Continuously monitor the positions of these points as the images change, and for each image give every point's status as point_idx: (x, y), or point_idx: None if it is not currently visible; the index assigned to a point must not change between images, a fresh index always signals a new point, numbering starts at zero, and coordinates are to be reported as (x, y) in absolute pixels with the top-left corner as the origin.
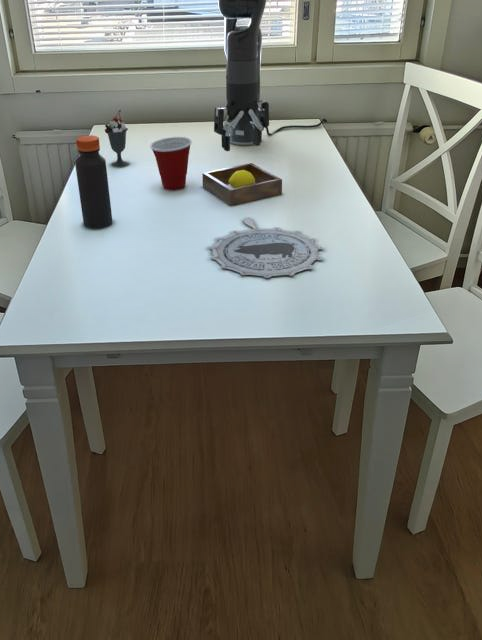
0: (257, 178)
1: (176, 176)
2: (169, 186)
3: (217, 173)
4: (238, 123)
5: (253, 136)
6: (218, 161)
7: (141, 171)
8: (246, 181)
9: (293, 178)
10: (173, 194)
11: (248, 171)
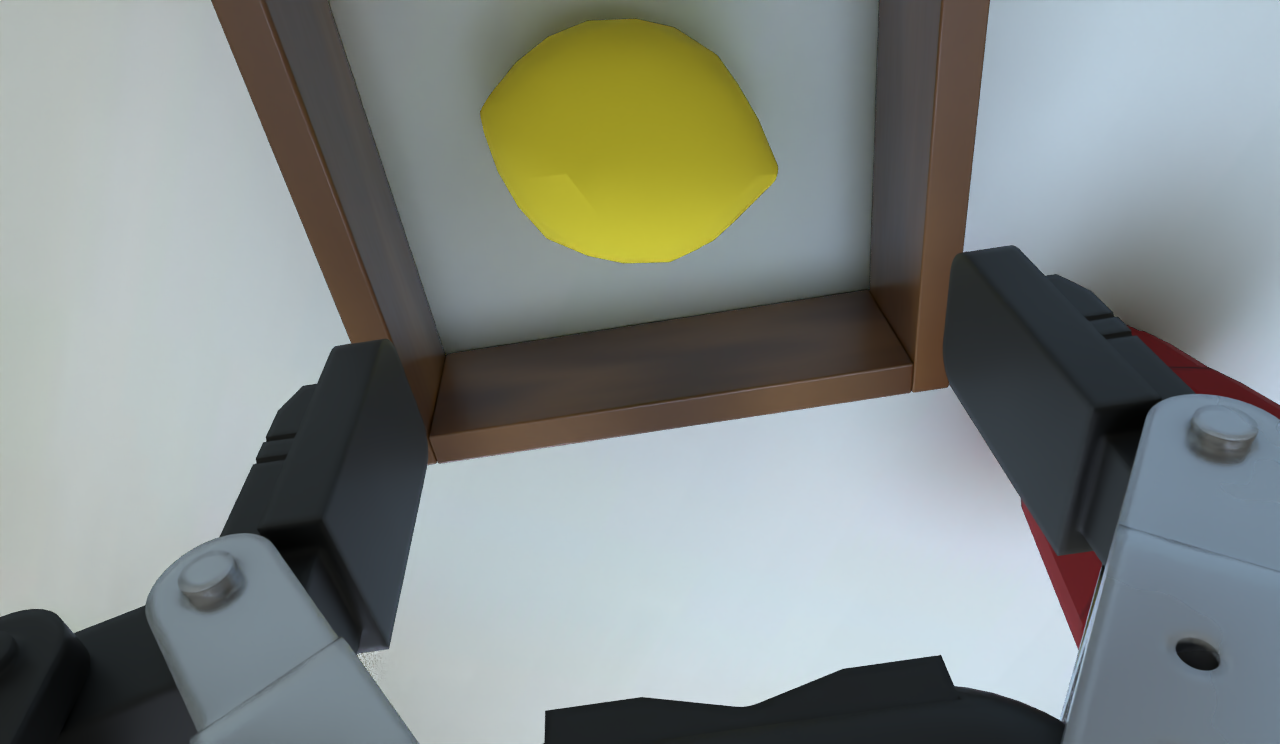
0: (402, 268)
1: (1202, 376)
2: (1182, 351)
3: (797, 367)
4: (947, 689)
5: (406, 531)
6: (562, 688)
7: (1073, 665)
8: (621, 37)
9: (14, 238)
10: (1185, 255)
11: (458, 392)
